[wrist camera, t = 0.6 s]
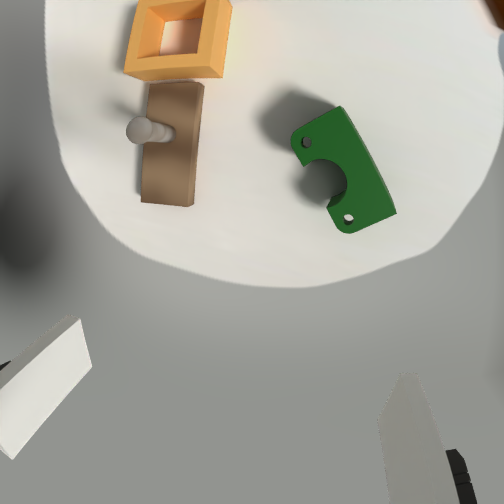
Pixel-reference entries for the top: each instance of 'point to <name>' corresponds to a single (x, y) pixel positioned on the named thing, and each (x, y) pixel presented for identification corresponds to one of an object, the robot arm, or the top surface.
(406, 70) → the top surface
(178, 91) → the brown block with peg
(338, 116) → the clamp
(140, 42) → the orange hollow square frame
